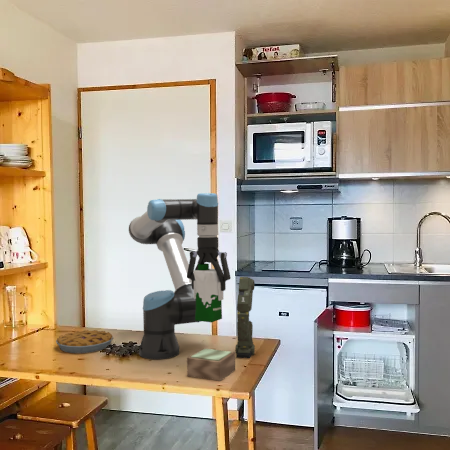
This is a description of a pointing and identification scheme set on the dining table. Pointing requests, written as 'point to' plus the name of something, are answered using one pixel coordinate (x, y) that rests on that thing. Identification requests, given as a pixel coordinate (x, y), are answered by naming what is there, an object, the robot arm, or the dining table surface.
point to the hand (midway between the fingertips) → (208, 298)
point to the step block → (211, 364)
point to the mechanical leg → (244, 319)
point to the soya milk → (207, 294)
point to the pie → (84, 341)
